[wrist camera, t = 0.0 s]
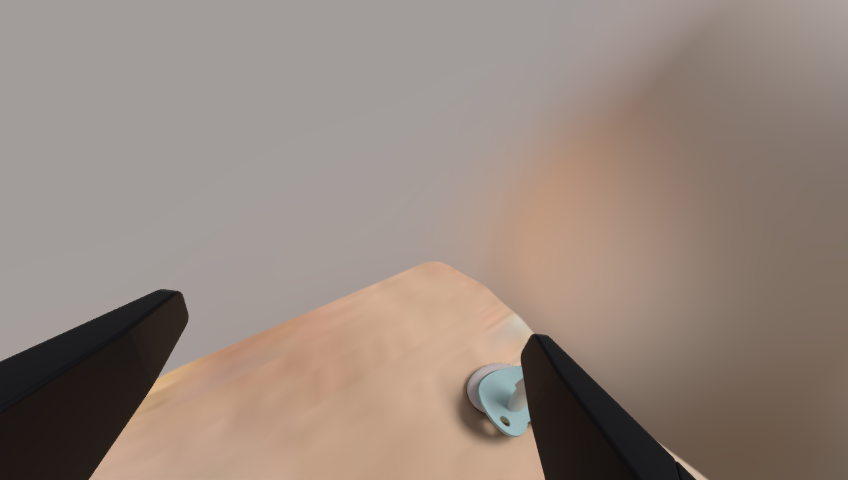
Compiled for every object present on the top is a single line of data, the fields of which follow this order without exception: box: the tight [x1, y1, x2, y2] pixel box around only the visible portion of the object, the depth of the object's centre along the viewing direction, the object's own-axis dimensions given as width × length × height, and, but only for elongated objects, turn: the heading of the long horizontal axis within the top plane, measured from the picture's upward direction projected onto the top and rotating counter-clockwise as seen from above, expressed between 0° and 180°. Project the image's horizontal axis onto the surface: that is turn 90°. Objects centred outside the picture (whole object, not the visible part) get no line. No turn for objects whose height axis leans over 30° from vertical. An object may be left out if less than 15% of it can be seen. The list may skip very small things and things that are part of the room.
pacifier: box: [467, 363, 531, 437], centre depth 24 cm, size 7×6×6 cm
